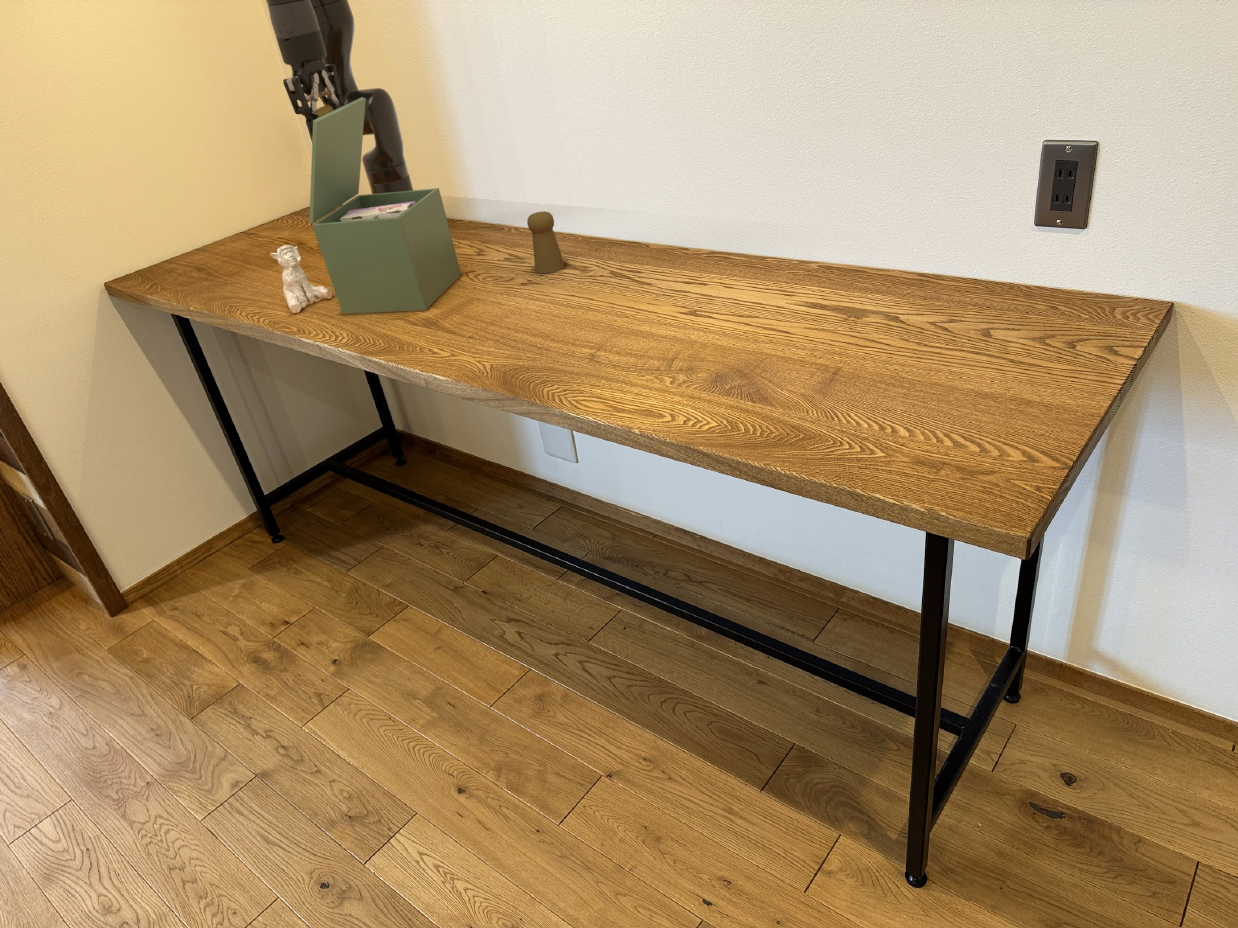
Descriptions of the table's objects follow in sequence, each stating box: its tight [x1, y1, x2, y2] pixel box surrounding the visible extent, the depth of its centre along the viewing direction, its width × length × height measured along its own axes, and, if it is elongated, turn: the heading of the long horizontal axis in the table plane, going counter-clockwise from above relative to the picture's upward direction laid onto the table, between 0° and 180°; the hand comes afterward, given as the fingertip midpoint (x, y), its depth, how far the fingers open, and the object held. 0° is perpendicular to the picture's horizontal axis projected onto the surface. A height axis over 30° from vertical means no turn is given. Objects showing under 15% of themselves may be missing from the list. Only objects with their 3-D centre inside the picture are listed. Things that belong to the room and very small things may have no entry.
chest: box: [311, 187, 462, 315], centre depth 173 cm, size 18×18×18 cm
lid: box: [308, 97, 366, 224], centre depth 165 cm, size 19×18×5 cm
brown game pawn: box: [526, 210, 565, 274], centre depth 175 cm, size 6×6×11 cm
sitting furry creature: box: [269, 244, 333, 314], centre depth 180 cm, size 10×9×12 cm
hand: (327, 131), depth 163 cm, fingers closed on lid, 6 cm apart
